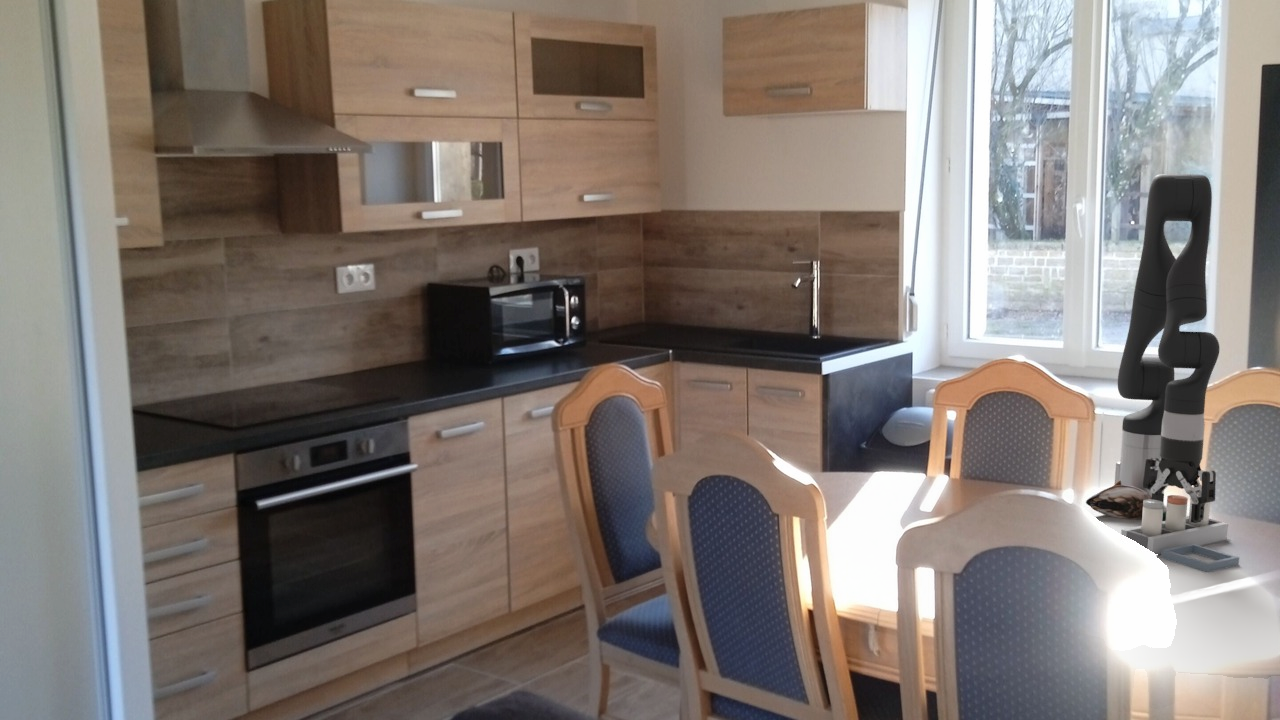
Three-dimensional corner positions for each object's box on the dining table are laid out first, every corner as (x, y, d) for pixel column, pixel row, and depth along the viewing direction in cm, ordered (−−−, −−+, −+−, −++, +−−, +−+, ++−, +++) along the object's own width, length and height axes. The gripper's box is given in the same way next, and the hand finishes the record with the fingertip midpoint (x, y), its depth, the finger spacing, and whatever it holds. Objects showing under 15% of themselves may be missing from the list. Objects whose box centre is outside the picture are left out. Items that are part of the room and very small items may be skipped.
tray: (1160, 563, 232) (1161, 550, 232) (1191, 556, 237) (1192, 543, 236) (1207, 578, 224) (1208, 564, 224) (1238, 571, 228) (1239, 557, 228)
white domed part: (1183, 536, 246) (1186, 492, 244) (1195, 534, 248) (1198, 490, 246) (1199, 541, 243) (1203, 496, 241) (1211, 538, 245) (1214, 494, 243)
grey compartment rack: (1115, 551, 240) (1117, 528, 239) (1193, 535, 251) (1194, 513, 251) (1152, 562, 233) (1154, 540, 232) (1230, 545, 244) (1232, 524, 243)
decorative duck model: (1185, 501, 252) (1123, 503, 248) (1179, 536, 254) (1116, 539, 250) (1137, 477, 266) (1077, 478, 262) (1132, 510, 268) (1072, 512, 264)
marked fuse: (1160, 541, 242) (1163, 496, 241) (1172, 538, 244) (1175, 494, 243) (1176, 546, 239) (1179, 500, 238) (1188, 543, 241) (1191, 498, 240)
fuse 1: (1135, 546, 239) (1139, 500, 238) (1148, 543, 241) (1151, 498, 239) (1151, 551, 236) (1155, 505, 235) (1164, 548, 238) (1167, 502, 236)
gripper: (1228, 439, 234) (1221, 523, 236) (1163, 427, 246) (1157, 506, 249) (1202, 443, 231) (1196, 528, 233) (1138, 430, 243) (1132, 511, 245)
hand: (1176, 517), depth 241 cm, fingers open, 8 cm apart
